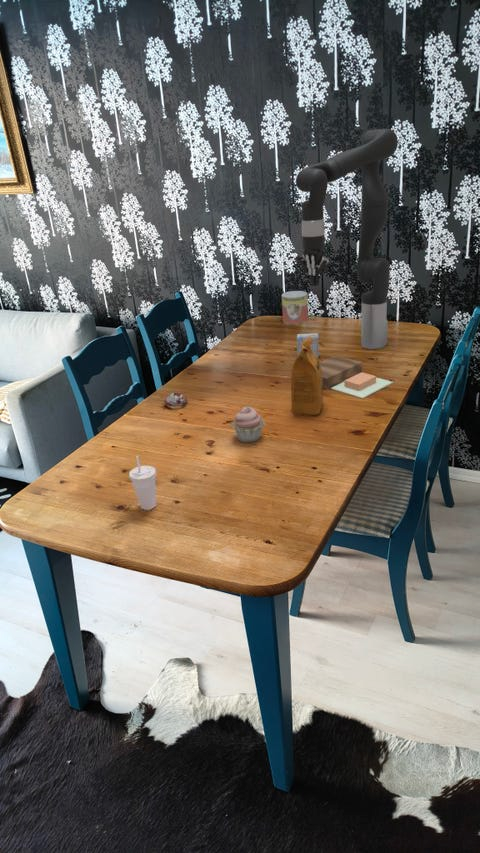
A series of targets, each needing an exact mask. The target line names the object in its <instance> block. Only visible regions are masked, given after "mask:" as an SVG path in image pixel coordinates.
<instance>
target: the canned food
mask: <svg viewBox="0 0 480 853" xmlns="http://www.w3.org/2000/svg"><path fill="white" fill-rule="evenodd" d="M308 304H309V303H308V292H306V291H302V290H290V291H287V292H283V293H282V294H281V308H282V322H284V323H283V324H285V325H289V324H297V325H299V324H298V323H303V322H306V321H307V322H309V310H308V309H309V308H308V307H309V306H308ZM307 322H306V323H307ZM303 324H304V323H303Z"/></svg>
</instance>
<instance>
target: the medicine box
mask: <svg viewBox="0 0 480 853" xmlns="http://www.w3.org/2000/svg"><path fill="white" fill-rule="evenodd" d="M307 337H311V338H312V339H313V342H312V344H311V345H310V347H311V349H312V352H313V354H314V355H315V356H316V357H317V359H319V357H320V356H319V355H320V353H319V333H317V332H316V333H297V334H296V347H297V348H296V351H297V357H298V356H299V354H300V353H301V351H302V347H301V343H303V342H304V341H305V340H306V339H307Z"/></svg>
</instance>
